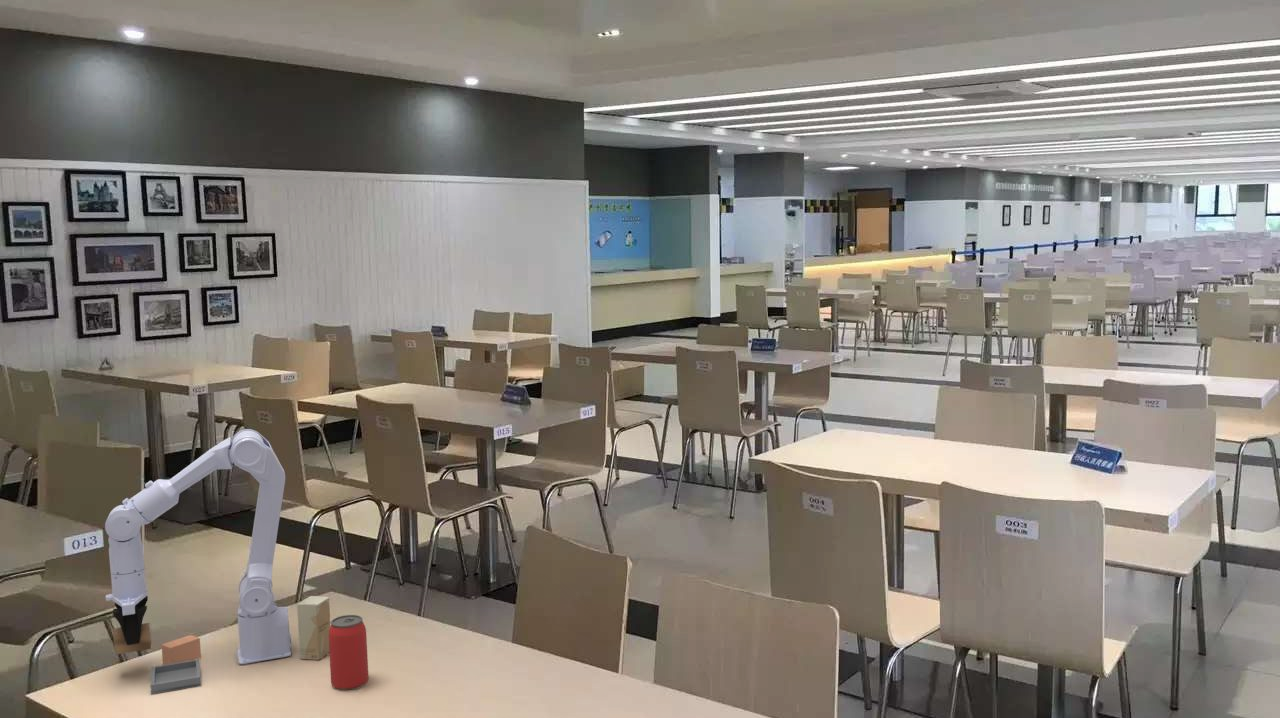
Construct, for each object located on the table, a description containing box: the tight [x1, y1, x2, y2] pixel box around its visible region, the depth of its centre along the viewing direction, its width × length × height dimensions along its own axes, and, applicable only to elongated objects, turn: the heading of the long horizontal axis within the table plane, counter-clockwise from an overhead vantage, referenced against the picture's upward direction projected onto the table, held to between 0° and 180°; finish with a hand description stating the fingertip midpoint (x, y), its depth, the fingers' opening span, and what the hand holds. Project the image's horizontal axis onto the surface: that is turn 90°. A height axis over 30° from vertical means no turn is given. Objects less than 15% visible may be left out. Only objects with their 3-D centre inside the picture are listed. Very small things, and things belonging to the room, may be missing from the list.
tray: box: [150, 658, 201, 695], centre depth 191 cm, size 8×9×2 cm
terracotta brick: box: [161, 634, 202, 665], centre depth 201 cm, size 6×3×4 cm, turn 144°
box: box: [296, 595, 331, 661], centre depth 202 cm, size 5×4×11 cm
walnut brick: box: [112, 622, 152, 656], centre depth 194 cm, size 6×3×4 cm, turn 114°
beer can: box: [328, 614, 370, 691], centre depth 188 cm, size 7×7×12 cm
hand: (133, 640), depth 194 cm, fingers closed on walnut brick, 3 cm apart
